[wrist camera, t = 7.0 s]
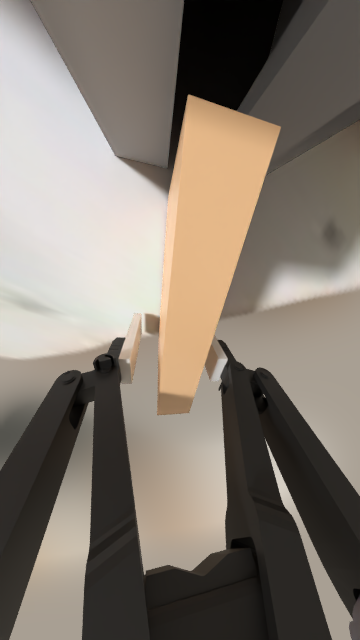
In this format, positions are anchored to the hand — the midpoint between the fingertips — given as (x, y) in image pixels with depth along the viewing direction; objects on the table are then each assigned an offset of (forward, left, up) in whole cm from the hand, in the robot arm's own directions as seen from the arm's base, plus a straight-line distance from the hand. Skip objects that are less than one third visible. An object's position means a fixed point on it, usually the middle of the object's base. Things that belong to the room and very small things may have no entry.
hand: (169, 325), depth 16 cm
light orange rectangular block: (-5, 0, -1) cm, 5 cm away
